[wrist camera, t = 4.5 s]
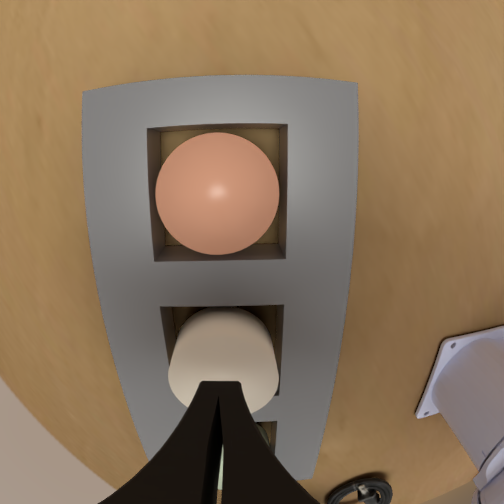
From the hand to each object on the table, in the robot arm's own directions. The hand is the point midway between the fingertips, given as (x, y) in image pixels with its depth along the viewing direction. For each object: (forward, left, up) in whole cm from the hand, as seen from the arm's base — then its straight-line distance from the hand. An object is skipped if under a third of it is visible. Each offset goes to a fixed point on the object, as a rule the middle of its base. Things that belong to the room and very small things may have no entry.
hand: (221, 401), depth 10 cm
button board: (0, +1, -7) cm, 7 cm away
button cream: (0, +2, -6) cm, 6 cm away
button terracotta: (0, -7, -7) cm, 10 cm away
